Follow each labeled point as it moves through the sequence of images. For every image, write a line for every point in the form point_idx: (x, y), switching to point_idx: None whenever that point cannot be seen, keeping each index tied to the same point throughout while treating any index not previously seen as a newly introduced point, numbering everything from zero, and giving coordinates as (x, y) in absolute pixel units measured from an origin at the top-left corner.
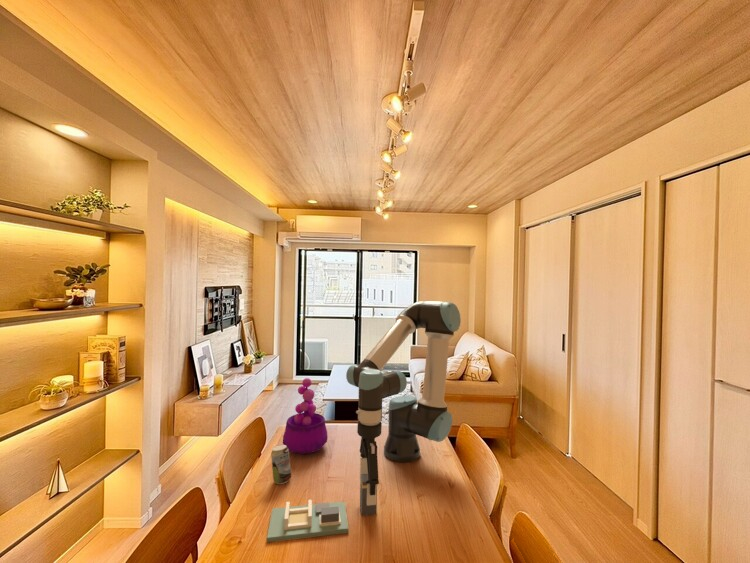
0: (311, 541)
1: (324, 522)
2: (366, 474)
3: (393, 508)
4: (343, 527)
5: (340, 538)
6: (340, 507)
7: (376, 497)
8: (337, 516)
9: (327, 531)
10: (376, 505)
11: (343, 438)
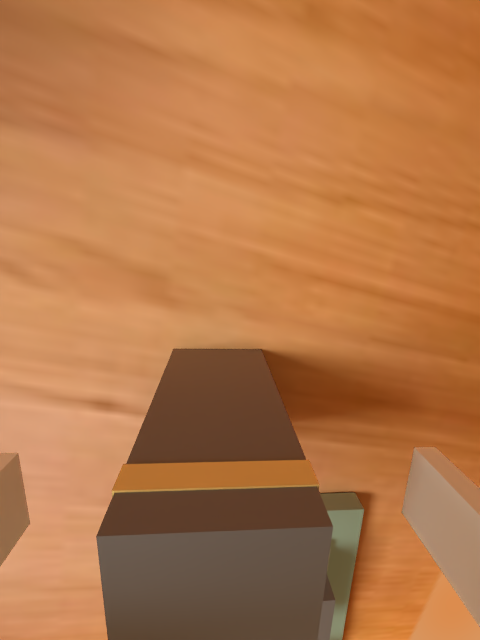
0: (357, 610)
1: None
2: (130, 634)
3: (228, 231)
4: (351, 528)
5: (376, 521)
6: None
7: (280, 400)
8: (327, 586)
9: (350, 581)
10: (269, 371)
11: None
